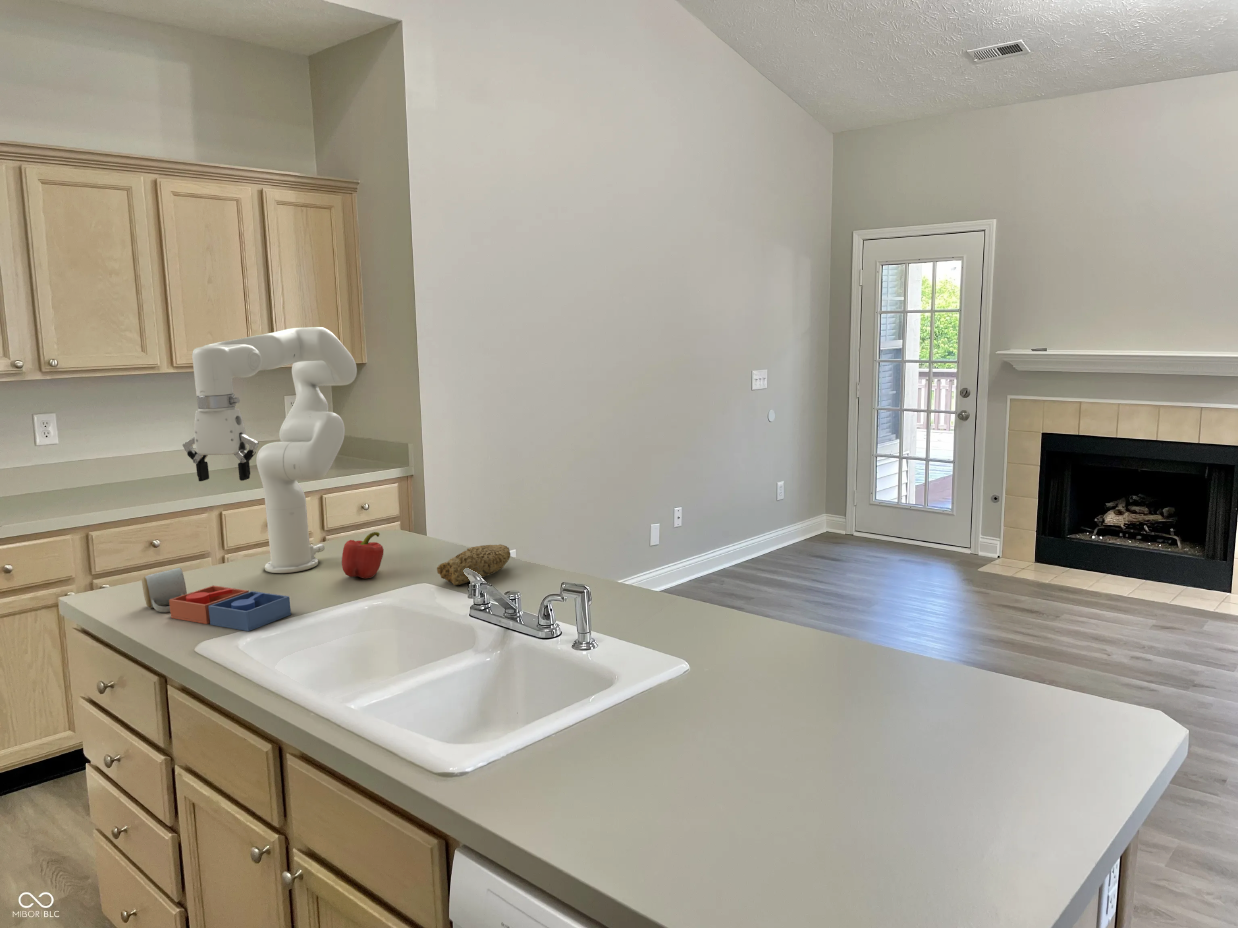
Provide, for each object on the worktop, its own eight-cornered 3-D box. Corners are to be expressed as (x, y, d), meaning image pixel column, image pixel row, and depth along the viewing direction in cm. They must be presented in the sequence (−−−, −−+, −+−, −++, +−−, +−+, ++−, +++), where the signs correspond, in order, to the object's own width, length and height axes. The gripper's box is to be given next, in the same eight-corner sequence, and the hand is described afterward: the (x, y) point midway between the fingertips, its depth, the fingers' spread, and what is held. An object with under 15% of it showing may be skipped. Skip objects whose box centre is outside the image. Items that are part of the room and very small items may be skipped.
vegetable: (369, 567, 225) (365, 528, 224) (397, 573, 219) (394, 532, 218) (332, 578, 216) (328, 537, 215) (360, 584, 210) (356, 542, 209)
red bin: (215, 602, 201) (213, 585, 200) (250, 608, 196) (248, 590, 195) (171, 617, 191) (168, 599, 190) (206, 624, 186) (204, 605, 185)
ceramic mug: (143, 604, 201) (139, 570, 200) (184, 596, 206) (180, 564, 204) (149, 617, 193) (145, 582, 191) (191, 609, 197) (188, 574, 196)
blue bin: (253, 608, 195) (252, 590, 195) (291, 614, 190) (289, 596, 190) (210, 624, 185) (208, 605, 185) (248, 631, 180) (246, 611, 180)
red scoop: (191, 618, 189) (189, 599, 188) (184, 613, 192) (182, 595, 191) (236, 607, 195) (235, 589, 194) (229, 603, 198) (227, 585, 197)
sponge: (463, 594, 204) (531, 558, 216) (452, 562, 202) (520, 528, 215) (434, 593, 214) (500, 559, 226) (423, 563, 212) (490, 530, 225)
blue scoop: (249, 624, 183) (247, 605, 182) (228, 624, 184) (226, 605, 183) (272, 610, 192) (270, 591, 191) (252, 610, 193) (250, 591, 192)
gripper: (262, 400, 203) (269, 476, 205) (189, 402, 205) (197, 477, 207) (244, 403, 195) (252, 482, 198) (169, 405, 197) (178, 483, 200)
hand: (224, 479), depth 203 cm, fingers open, 9 cm apart
